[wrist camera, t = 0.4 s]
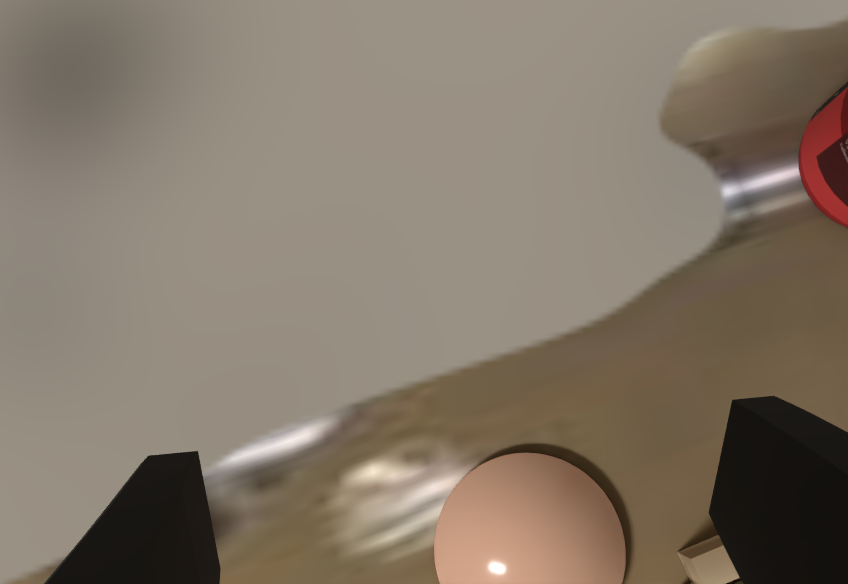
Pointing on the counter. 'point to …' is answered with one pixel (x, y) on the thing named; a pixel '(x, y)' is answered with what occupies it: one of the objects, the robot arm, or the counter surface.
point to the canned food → (827, 157)
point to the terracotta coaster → (529, 526)
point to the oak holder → (708, 563)
